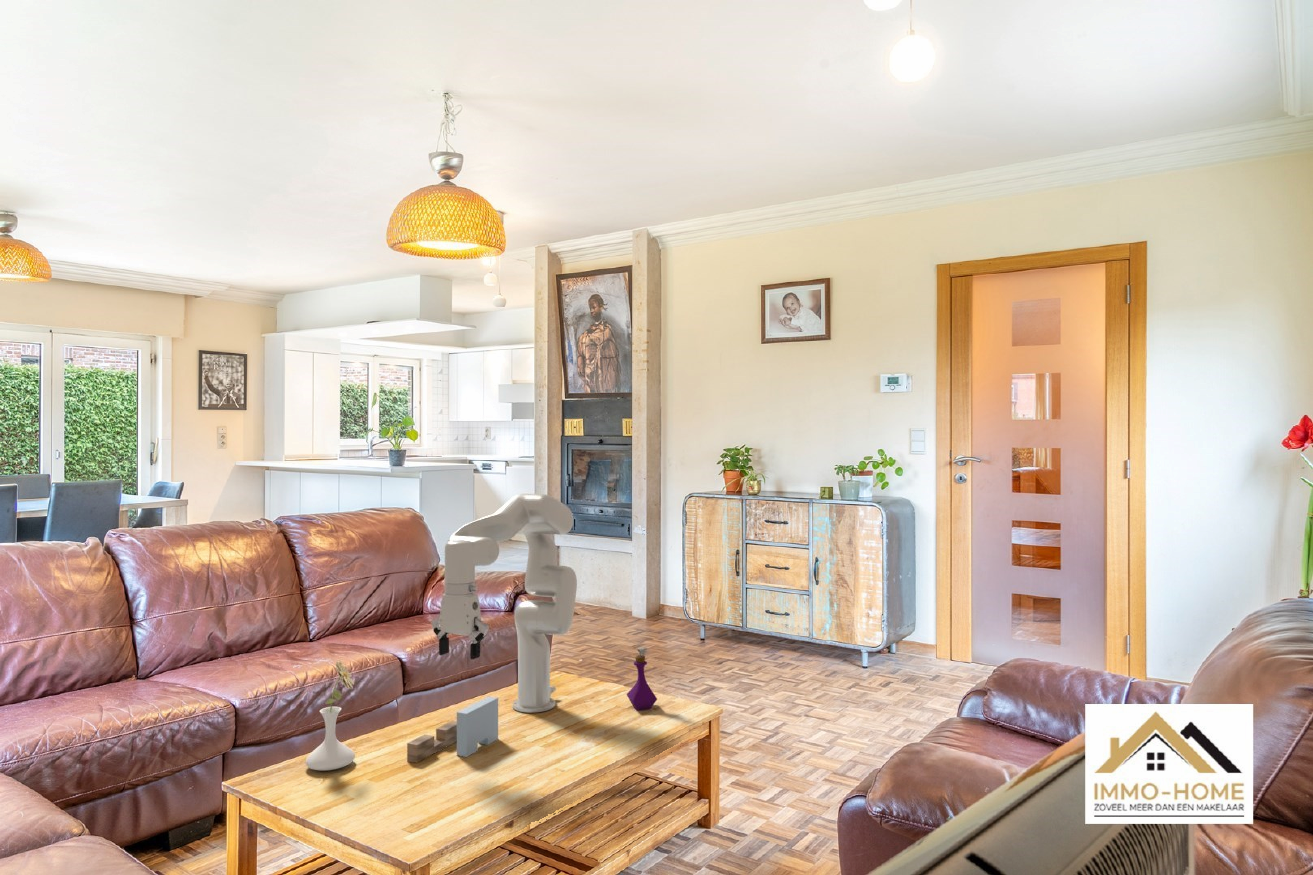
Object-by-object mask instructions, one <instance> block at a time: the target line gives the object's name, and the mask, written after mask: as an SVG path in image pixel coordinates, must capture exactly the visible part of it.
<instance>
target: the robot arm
mask: <svg viewBox="0 0 1313 875" xmlns="http://www.w3.org/2000/svg"><path fill="white" fill-rule="evenodd" d="M573 526H574V515H573V512H572V511H571V509H570V507H568V506H567V505H565V504H564V503H562V502H561V501H560V500H558V499H557V498H554V497H553V496H551V495H549V494H542V493H519V494H516V495H513V496H512V497H511V498H510V499H509V500H507V502H505V503H504V504H503V505H501V507H500V508H499V509H497V510H496V511H495V512H494V513H493V514H490V515H486V516H483V517H482V518H478V519H477V520H474V521H471V522H468V523H466V524H464V525H463V526H461V527H460V528H459V529H457V530H456V531H455V532H454V533H452V535H450V537H448V538H449V539H448V540H447V542H446V543H445V545H444V593H443V594H442V597H441V602H440V610H439V616H437V617H436V618H434V619H432V620H431V621H430V624H431V626H432V629H433V630H432V631H433V633H434V634H435V635H436V639H437V640H438V654H439V656H443V655H447V654H449V653H450V637H448V635H449V634H451V635H460V636H468V638H469V639H470V641H471V643H470V645H469V647H470V648H469V650H470V651H469V658H470V660H476V659H478V658H480V656H481V643H482V641H483V640H484V639H485V637H486V636H487V634H488V631H489V629H490V625H489V624H487V623H485V622H484V621H483V620H482V614H481V605H480V600H479V595H478V593H476V592H477V591H478V590H479V586H478V585H476V580H475V578H476V574H475V572H476V567H486V566H490V565H492V564H494V563H495V562H496V561H497V559H498V557H499V556H500V546H499V544H498V543H501V542H506V541H509V540H511V539H513V538H514V537H515V536H516V535H517V534H518V533H519V532H520V531H521V530H522V532H523V534H524V536H525V537H526V541H527V545H528V554H527V562H526V571H525V577H524V590H525V591H526V593H527V594H529V595H531V596H535V597H544V598H545V597H546V598H555V601H546V600H536V599H534V600H533V599H532V600H531V599H529V600H528V599H527V600H525V601H522V602H520V603H519V604H518V605H517V606H516V608H515V610H514V624H515V629H516V630H515V631H516V635H517V699H516V700H514V701H513V702H512V709H513V710H515V711H517V712H520V713H530V714H531V713H542V712H547V711H550V710H552V709H553V708H555V707H556V700H555V699H553V698H552V697H551V695H552V694H553V693H554V692H556V691H557V688H556V686H555V685H551V646H550V645H551V644H550V642H549V640H548V638H547V637H546V635H549V636H550V635H551V636H564V635H567V634H568V633H569V631H570V630H571V627H572V625H573V621H574V620H573V619H574V615H575V614H574V612H575V604H576V597H577V588H578V579H577V574H576V571H575V570H574V569H573V568H572V567H571V566H567V565H559V564H557V565H556V562H557V553H558V552H557V551H558V549H557V545H556V543H555V541H554V539H553V537H552V536H551V535H556V536H557V535H560V536H562V535H566V534H568V533H569V532H571V530H572V529H573Z"/></svg>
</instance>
